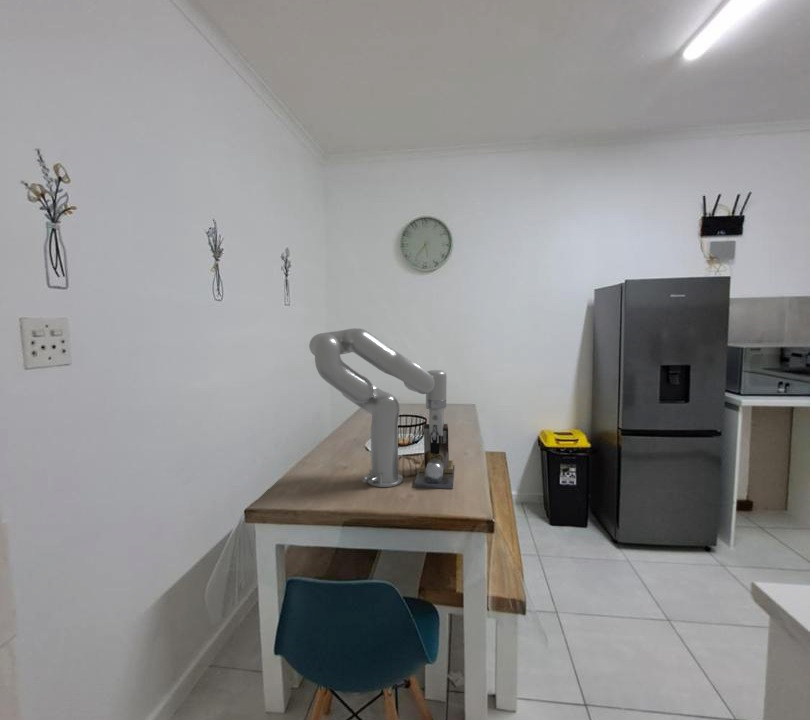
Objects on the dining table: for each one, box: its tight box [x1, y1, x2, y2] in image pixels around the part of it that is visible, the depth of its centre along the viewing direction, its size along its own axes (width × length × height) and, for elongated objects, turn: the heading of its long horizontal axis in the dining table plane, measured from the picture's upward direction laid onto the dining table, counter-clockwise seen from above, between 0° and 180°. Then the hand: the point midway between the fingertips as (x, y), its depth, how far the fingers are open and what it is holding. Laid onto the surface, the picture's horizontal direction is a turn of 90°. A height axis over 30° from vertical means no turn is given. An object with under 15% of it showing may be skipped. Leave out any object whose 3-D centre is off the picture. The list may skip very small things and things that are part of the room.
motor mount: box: [414, 458, 455, 490], centre depth 153 cm, size 20×13×8 cm, turn 172°
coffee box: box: [423, 423, 450, 468], centre depth 157 cm, size 9×6×16 cm
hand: (435, 449), depth 157 cm, fingers open, 9 cm apart
